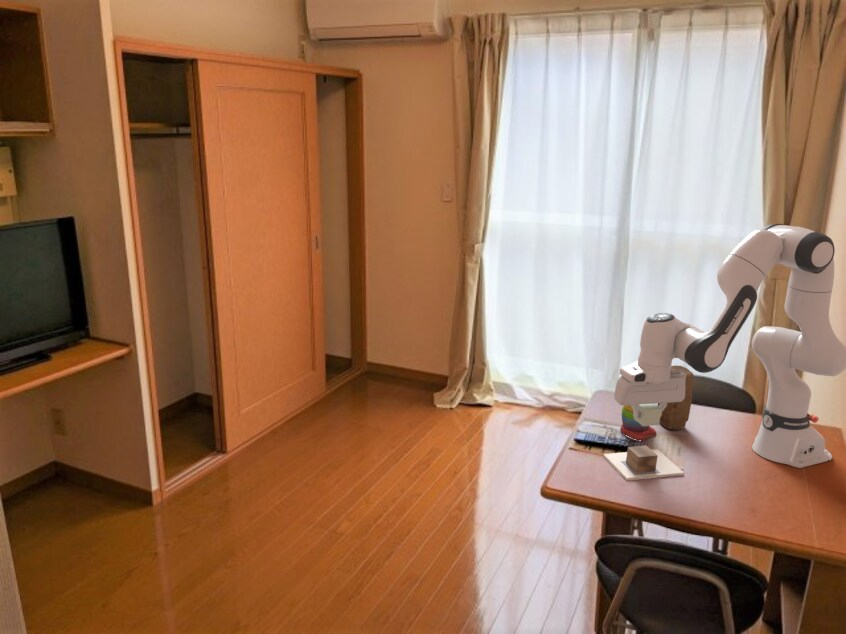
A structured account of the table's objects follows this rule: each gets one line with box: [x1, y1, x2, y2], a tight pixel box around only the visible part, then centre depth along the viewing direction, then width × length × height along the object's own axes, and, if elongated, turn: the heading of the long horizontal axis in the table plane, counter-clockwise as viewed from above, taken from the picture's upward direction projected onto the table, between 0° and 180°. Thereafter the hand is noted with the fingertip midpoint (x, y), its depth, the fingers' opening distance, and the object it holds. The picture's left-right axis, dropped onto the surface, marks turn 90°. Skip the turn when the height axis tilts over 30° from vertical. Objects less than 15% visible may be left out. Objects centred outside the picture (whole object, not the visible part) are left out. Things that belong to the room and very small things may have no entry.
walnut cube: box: [626, 445, 658, 473], centre depth 192 cm, size 6×6×5 cm
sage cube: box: [634, 403, 661, 427], centre depth 188 cm, size 5×5×5 cm
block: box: [657, 365, 695, 431], centre depth 220 cm, size 11×8×20 cm
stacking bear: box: [619, 405, 657, 442], centre depth 213 cm, size 11×10×18 cm
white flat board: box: [602, 449, 685, 482], centre depth 195 cm, size 18×14×1 cm
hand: (647, 416), depth 188 cm, fingers closed on sage cube, 5 cm apart
